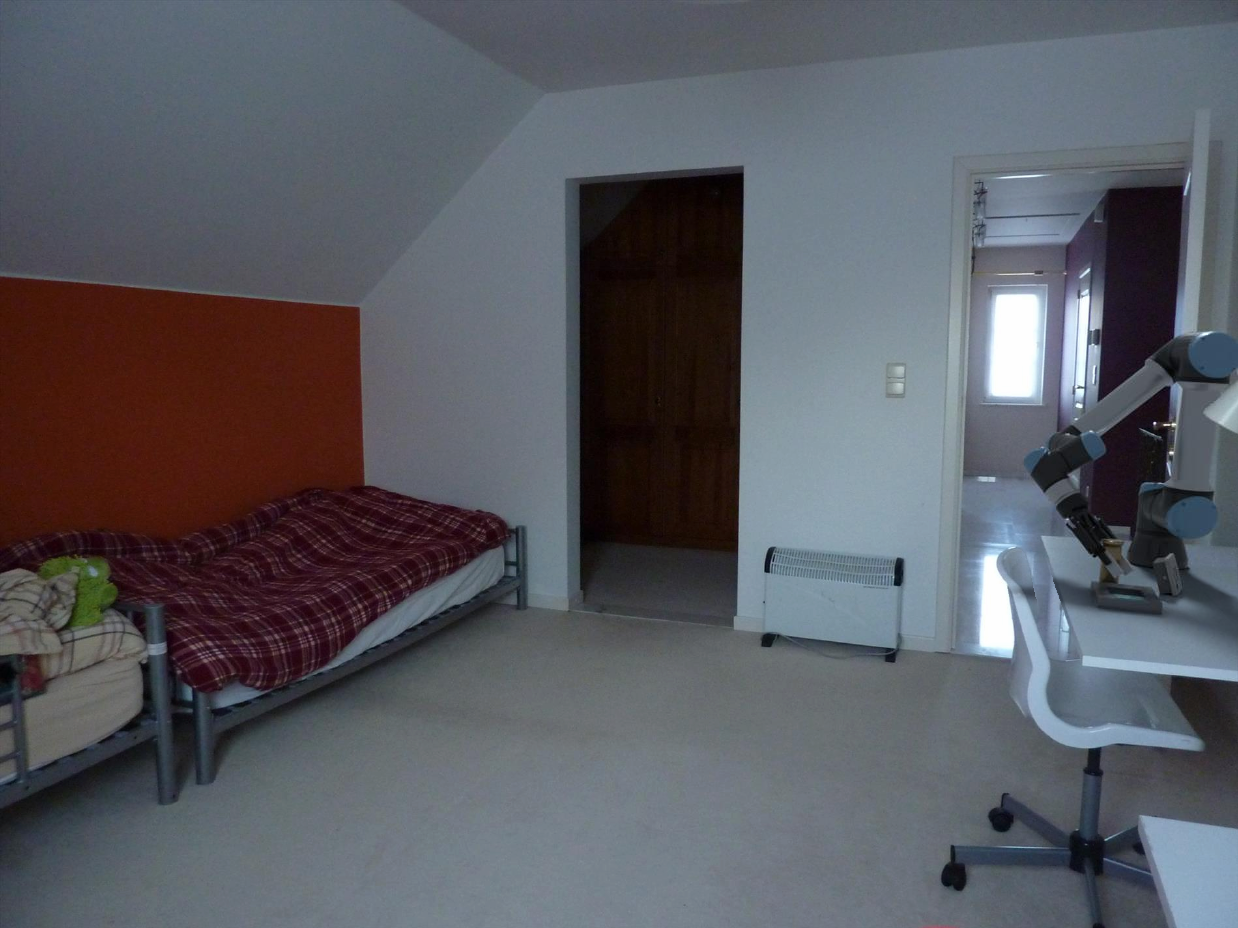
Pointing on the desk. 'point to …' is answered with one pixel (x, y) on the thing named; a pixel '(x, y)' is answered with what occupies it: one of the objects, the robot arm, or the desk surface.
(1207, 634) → the desk surface
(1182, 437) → the robot arm
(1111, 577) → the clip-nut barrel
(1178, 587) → the electrical switch
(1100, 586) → the rack plate
